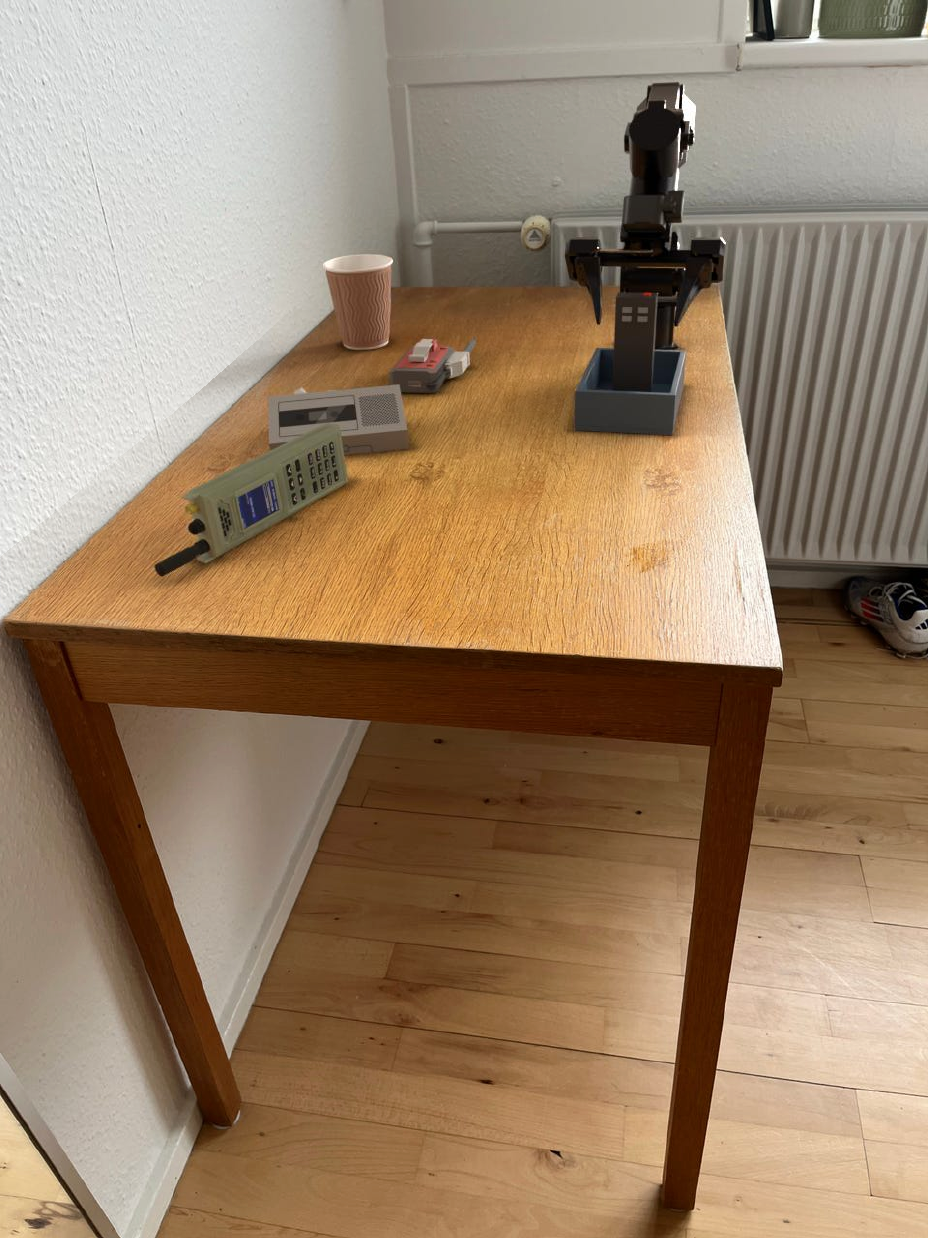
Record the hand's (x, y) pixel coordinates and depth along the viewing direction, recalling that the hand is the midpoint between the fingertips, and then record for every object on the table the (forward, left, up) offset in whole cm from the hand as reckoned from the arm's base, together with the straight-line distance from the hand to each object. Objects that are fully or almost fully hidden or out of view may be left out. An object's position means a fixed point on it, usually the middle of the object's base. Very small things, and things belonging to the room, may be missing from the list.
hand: (636, 323), depth 114 cm
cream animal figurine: (+37, -11, -10) cm, 40 cm away
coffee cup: (+25, -41, -10) cm, 49 cm away
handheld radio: (+49, +16, -10) cm, 52 cm away
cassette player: (+37, +1, -9) cm, 38 cm away
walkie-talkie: (+19, -23, -10) cm, 31 cm away
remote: (+1, +1, -9) cm, 9 cm away
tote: (+1, +1, -10) cm, 10 cm away
